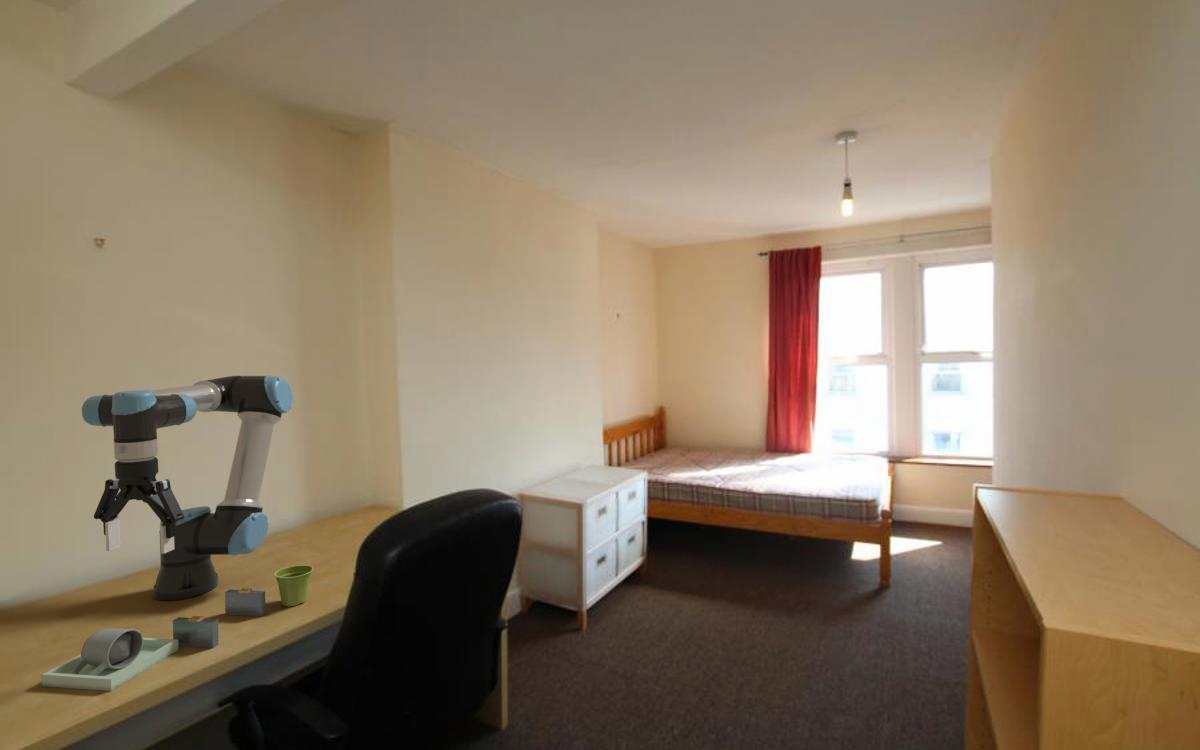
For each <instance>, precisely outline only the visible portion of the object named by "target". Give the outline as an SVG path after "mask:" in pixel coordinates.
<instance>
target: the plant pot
mask: <svg viewBox="0 0 1200 750" xmlns="http://www.w3.org/2000/svg"><path fill="white" fill-rule="evenodd" d="M313 571H314V567H313V566H311V565H308V564H298V565H291V566H287V567H283V568H280V569H279V570H277V571H275V572H274V578H276V582H277V583H278V585H277V587H278V591H279V597H280V602H281V606H284V607H295V606H299V605H300V604H301V603H302V604H303V603H305V602H306V601H308V600H307V599H308V595H309V594H308V593H309V586H310V581H311V576H312V573H313Z"/></svg>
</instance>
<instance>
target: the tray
mask: <svg viewBox="0 0 1200 750" xmlns="http://www.w3.org/2000/svg"><path fill="white" fill-rule="evenodd" d="M177 651H179V646H178V640H174V639H173V638H172V639H171V638H155V637H143V646H142V649H141V652H140V653H139V655H138V656H137V658H136V659H135V660H134V661H133V662H132V663H131V664H129V665H128V666H126V667H124V668H121V669H111V668H105V669H104V670H103V671H102V672H100V673H99V674H98V675H96V676H92V675H83V674H86V673H88V672H90V671H91V670H93V669H94V668H96V667H97V666H92V665H89V664H87V665H85V666H84V667H83V668H82V669H81V670H80V672H79V673H78V674H79V675H77V674H72V671H73V669H74V668H75V666H76V665H77V664H78V663H79V662H80V661H82V657H81V654H79V655H77V656H75V657H74V658H73V657H72V658H71V659H70V660H67V661H66V662H63V663H61V664H60V665H58V666H55V667H54V668H52V669H50V670H48V671H46V672H44V673H42V674H41V686H42V687H46V688H47V687H49V688H65V689H77V690H79V689H80V690H93V691H107V692H112V691H115V689H117V688H119V687H120V686H122V685H124V684H125V683H127V682H128V681H130V680H132V679H133V678H135V677H137V676H138V675H140V674H142V673H144V672H145V671H146V670H148V669H150V668H151V667H153V666H155V665H157V664H158V663H160V662H161V661H163V660H164V659H166V658H167V657H169V656H171V655H172V654H174V653H176V652H177Z"/></svg>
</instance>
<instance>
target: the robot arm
mask: <svg viewBox="0 0 1200 750" xmlns="http://www.w3.org/2000/svg"><path fill="white" fill-rule="evenodd" d="M293 401H294V398H293V390H292V388H291V385H290V383H289V382H288V380H286V379H285V378H284V377H282V376H277V375H276V376H275V375H274V376H273V375H269V374H268V375H230V376H228V375H227V376H223V377H222V376H221V377H218V378H212V379H207V380H201V381H197V382H195V383H193V384H192V385H187V386H186V385H185V386H179V387H170V388H162V389H154V390H147V389H146V390H141V389H140V390H124V391H117V392H116V393H115V392H114V394H101V395H93V396H90V397H87V399H85V401H84V402H83V404H82V406H81V417H82V419H83V421H84V422H85V423H87V424H88V425H91V426H97V427H103V428H104V427H105V428H106V427H113V428H112V429H113V430H112V431H113V449H114V450H113V451H114V452H113V453H114V459H115V460H117V461H115V463H114V477H113V478H110V479H106V480H105V482H104V490H103V493H102V495H101V498H100V499H99V502H98V505H97V507H96V509H95V511H94V514H93V518H94V520H100V521H101V522H102V526H103V534H104V536H105V550H106V552H110V551H113V550H115V549H119V548H121V547H122V543H121V542H122V541H121V523H120V522H121V520H120V518H119V514H120V513H121V512H122V511H123V509H124V508H125V506H127V504H128V503H129V502H130V501H133V500H136V501H142V502H143V503H145V504H147V505H148V506H149V507H150V509H151V510H152V511H153V512H154V514H155V515H156V516H157V517H158V518H159V520H160V525H159V531H158V533H159V553H160V558H159V559H160V569H159V571H158V574H157V577H156V579H155V584H154V585H153V588H152V597H153V599H155V600H157V601H164V602H165V601H168V602H169V601H179V600H184V599H190V598H193V597H197V596H200V595H203V594H205V593H208V592H210V591H213V590H214V589H215V588H217V586H218V585H219V575H218V573H217V571H216V569H215V567H214V564H213V561H212V556H215V555H216V556H223V555H224V556H226V555H227V556H228V555H229V556H238V555H249V554H251V553H253V552H255V551H256V550H257V549H258V548H259V547H260V546H261V545H262V544H263V543H264V541H265V539H266V537H267V533H268V529H269V522H268V521H269V518H268V516H267V514H265V513H263V506H262V505H261V504H260V502H259V500H260V495H261V490H262V486H263V485H262V484H263V480H264V475H265V471H266V464H267V461H268V456H269V450H270V447H271V440H272V436H273V431H274V427H275V425H276V424H277V423H279V422H280V421H281V418H282V415H283V414H286V413H288V412H289V411H290V409H292V407H293ZM197 411H198V412H201V413H211V412H221V413H223V412H224V413H225V412H227V413H237V415H236V416H237V417H238V418H239V419H240V421H241V422H240V423H241V424H240V427H239V432H238V436H237V442H236V446H235V450H234V455H233V460H232V463H231V469H230V472H229V477H228V481H227V486H226V490H225V494H224V499H223V501H221V502H220V503H218V504H217V505H216V506H215V512H212V510H211V507H209V506H205V505H204V506H196V507H191V508H186V509H182V508H181V506H180V504H179V501H177V498H176V496H175V494H174V492H173V490H172V488H171V481H170V479H169V478H168V479H167V478H166V479H162V480H157V477H156V476H157V474H158V473H159V459H158V457H156V456H159V455H158V454H159V451H158V450H159V449H158V432H157V431H158V430H157V429H161V428H168V427H172V426H180V425H183V424H185V423H189V422H190V421H192V420H193V419H194V417H195V416H196V414H197Z"/></svg>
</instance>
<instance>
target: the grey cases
mask: <svg viewBox="0 0 1200 750" xmlns="http://www.w3.org/2000/svg"><path fill="white" fill-rule="evenodd" d="M224 604H225V605H224V607H225V608H224V609H225V610H224V611H225V613H224V614H225V616H243V617H245V616H246V617H263V616H264V615H266V591H265V590H253V588H246V587H243V588H241V589H228V590H227V591H224ZM172 639H174V640H178V647H188V648H189V647H190V648H191V647H192V648H205V649H214V648H215V647H218V645H219V619H217V618H204V616H202V615H193V616H190V617H182V616H179V617H177V618H175V619H173V620H172Z"/></svg>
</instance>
